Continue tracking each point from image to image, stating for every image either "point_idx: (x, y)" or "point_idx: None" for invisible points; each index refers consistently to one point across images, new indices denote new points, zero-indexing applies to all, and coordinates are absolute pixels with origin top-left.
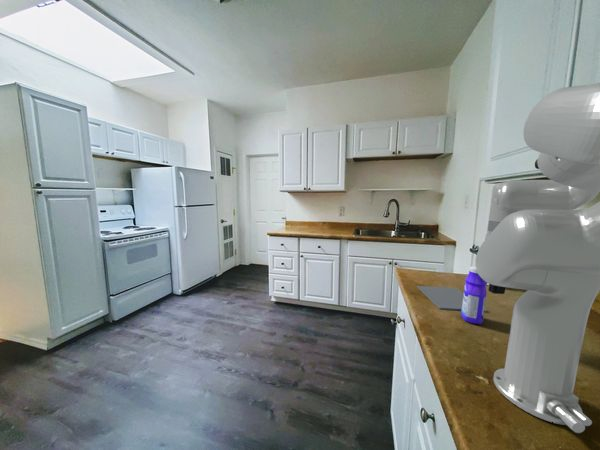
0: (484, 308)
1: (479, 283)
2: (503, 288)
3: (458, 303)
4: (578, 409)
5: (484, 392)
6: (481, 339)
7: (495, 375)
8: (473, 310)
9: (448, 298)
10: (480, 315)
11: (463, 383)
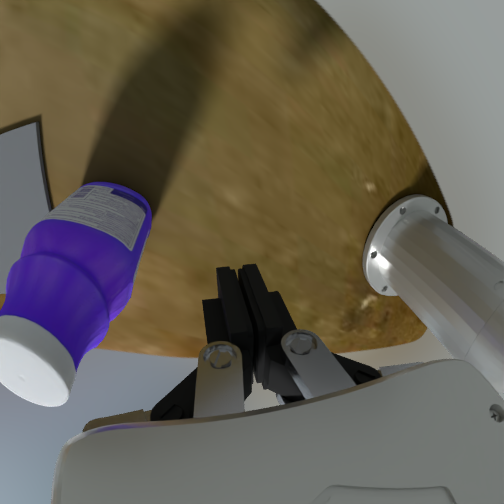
0: (23, 129)
1: (106, 322)
2: (282, 305)
3: (12, 212)
4: (441, 212)
5: (388, 308)
6: (241, 240)
7: (379, 290)
8: (142, 252)
9: None
10: (147, 220)
11: (371, 328)
